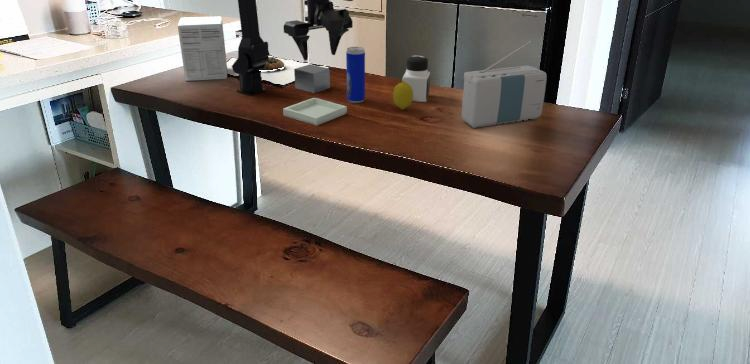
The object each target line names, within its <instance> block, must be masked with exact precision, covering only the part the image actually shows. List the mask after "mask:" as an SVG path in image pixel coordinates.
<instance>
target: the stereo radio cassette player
mask: <svg viewBox="0 0 750 364" xmlns="http://www.w3.org/2000/svg"><path fill="white" fill-rule="evenodd" d="M532 42H533V41H532V40H529V42H527V43H525V44H523V45H521V46H520V47H519V48H517V49H515V50H514V51H512V52H510V53H508V54H507V55H506V56H504V57H502V58H501V59H499V60H497V61H496V62H494V63H493V64H492V65H490V66H488V67H487V68H485V69H483V70H482V69H481V70H473V71H465V72H464V74H463V80H464V81H463V92H462V93H463V94H462V104H461V118H462V120H463V121H464V122H465V123H466V124H468V125H469V126H470V127H472V128H473V129H476V128H481V127H489V126H495V125H496V124H497V125H503V124H502V123H504V124H509V123H508V122H511V123H516V122H515V121H517V122H523V121H522V120H524V121H529V120H528V119H531V120H532V119H534V120H537V118H541V116H542V111H543V106H544V101H545V95H546V94H545V93H546V86H547V72H545V71H543V70H540V69H539V68H538V67H535V66H531V65H520V66H509V67H501V68H494V67H495V66H496V65H497V64H499V63H501V62H503V61H504V60H506V59H507V58H509V57H510V56H512V55H513V54H515V53H516V52H518V51H519V50H520V49H521V50H522V48H523V47H526V45H528V44H529V43H532ZM491 68H492V69H491ZM497 125H496V126H497Z"/></svg>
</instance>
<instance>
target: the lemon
mask: <svg viewBox="0 0 750 364" xmlns="http://www.w3.org/2000/svg"><path fill="white" fill-rule="evenodd" d="M392 100H393V103H394V105H395V106H396V107H398V108H399V109H400V110H405V109H406V108H408V107H410V106H411V105H412V102H413V101H412V100H413V90H412V88H411V86H410V85H409V84H407V83H405V82H404V81H403V80H402V81H401V82H399V83H398V84H396V85H395V87H394V88H393V93H392Z"/></svg>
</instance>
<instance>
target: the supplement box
mask: <svg viewBox="0 0 750 364" xmlns="http://www.w3.org/2000/svg"><path fill="white" fill-rule="evenodd" d="M223 24H224V23H223V18H222V16H219V15H218V16H217V15H216V16H193V17H190V16H188V17H180V19H179V21H178V24H177V29H178V38H179V43H180V51H181V52H180V53H181V58H182V65H183V72H184V73H183V74H184V79H185V82H189V81H190V82H191V81H207V80H208V81H210V80H226V79H228V64H227V56H226V55H227V54H226V47H225V44H226V43H225V34H224V33H225V32H224V26H223Z"/></svg>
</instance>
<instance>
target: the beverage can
mask: <svg viewBox="0 0 750 364" xmlns="http://www.w3.org/2000/svg"><path fill="white" fill-rule="evenodd" d="M345 52H346V53H345V54H346V58H345V59H346V63H345V64H346V99H347V101H348V102H349V103H351V104H352V103H353V104H361V103H362V102H364V101H365V100H366V53H365V48H364V47H361V46H349V47H347V48H346V51H345Z"/></svg>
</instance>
